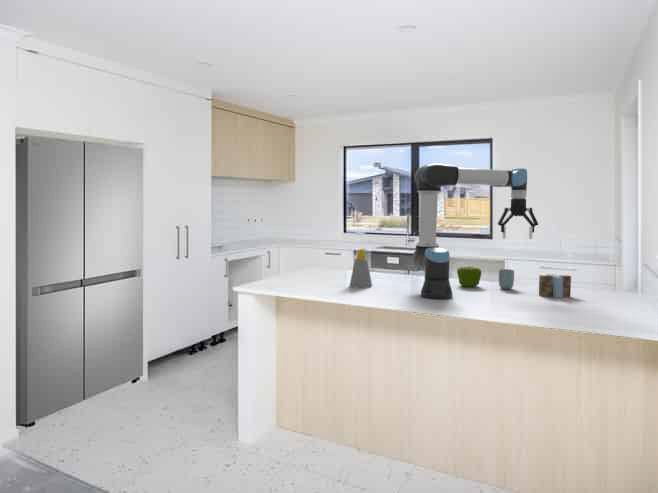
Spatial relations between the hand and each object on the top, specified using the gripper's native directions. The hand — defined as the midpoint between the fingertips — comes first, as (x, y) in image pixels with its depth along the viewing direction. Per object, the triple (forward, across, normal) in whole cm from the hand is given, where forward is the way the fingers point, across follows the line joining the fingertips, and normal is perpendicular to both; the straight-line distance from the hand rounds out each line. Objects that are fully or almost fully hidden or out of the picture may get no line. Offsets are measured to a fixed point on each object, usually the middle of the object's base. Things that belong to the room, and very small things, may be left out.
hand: (517, 238), depth 264 cm
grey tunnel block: (+27, +13, -20) cm, 35 cm away
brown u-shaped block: (+27, +13, -20) cm, 36 cm away
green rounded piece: (+27, -23, +6) cm, 36 cm away
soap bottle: (+27, -82, +3) cm, 87 cm away
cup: (+27, -5, -1) cm, 27 cm away
